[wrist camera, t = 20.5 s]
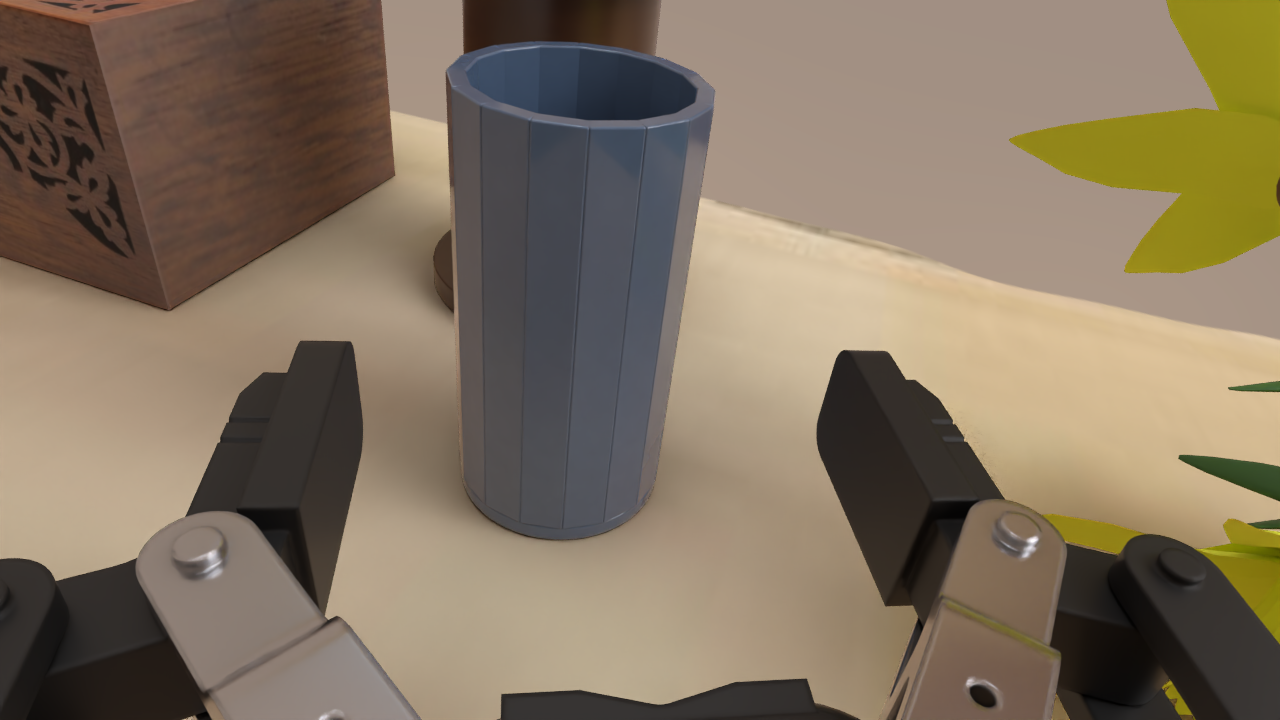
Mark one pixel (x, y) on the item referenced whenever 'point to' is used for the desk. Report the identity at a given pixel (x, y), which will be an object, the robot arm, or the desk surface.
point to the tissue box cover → (183, 133)
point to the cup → (569, 273)
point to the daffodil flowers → (1200, 229)
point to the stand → (555, 12)
